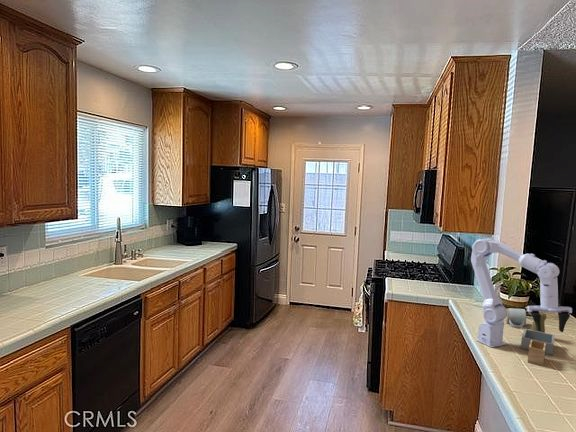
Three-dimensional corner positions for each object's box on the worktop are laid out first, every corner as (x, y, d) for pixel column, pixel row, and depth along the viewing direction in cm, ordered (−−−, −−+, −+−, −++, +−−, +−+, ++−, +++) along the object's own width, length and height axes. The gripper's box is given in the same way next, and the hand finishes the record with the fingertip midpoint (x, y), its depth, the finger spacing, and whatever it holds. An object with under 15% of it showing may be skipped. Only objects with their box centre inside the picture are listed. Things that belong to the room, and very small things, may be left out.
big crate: (552, 355, 164) (553, 344, 163) (520, 348, 170) (521, 337, 169) (553, 345, 174) (554, 334, 174) (523, 338, 180) (524, 328, 180)
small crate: (543, 366, 153) (544, 350, 153) (527, 362, 156) (529, 347, 156) (544, 357, 161) (545, 343, 160) (529, 354, 164) (531, 339, 163)
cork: (530, 332, 188) (533, 309, 187) (546, 336, 184) (548, 312, 183) (528, 336, 183) (530, 312, 182) (544, 340, 179) (546, 315, 178)
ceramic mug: (504, 320, 204) (505, 304, 203) (523, 322, 202) (524, 307, 201) (507, 327, 194) (509, 311, 194) (527, 330, 192) (528, 314, 191)
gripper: (531, 297, 156) (532, 333, 156) (575, 298, 152) (576, 334, 152) (525, 293, 163) (526, 327, 163) (567, 294, 159) (568, 329, 159)
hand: (549, 330), depth 158 cm, fingers open, 7 cm apart
